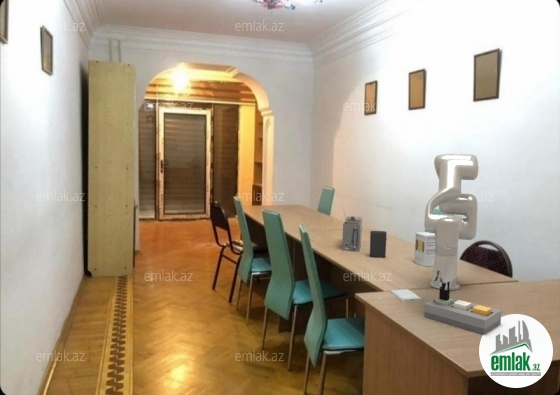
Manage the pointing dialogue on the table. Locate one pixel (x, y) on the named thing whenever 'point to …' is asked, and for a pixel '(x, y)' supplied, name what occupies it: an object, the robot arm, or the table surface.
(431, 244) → the supplement box
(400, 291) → the hard drive
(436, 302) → the sage key
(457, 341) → the table surface
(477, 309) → the amber key
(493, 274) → the table surface
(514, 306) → the table surface
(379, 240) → the card reader
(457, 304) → the middle key
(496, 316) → the key console
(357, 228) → the portable television
